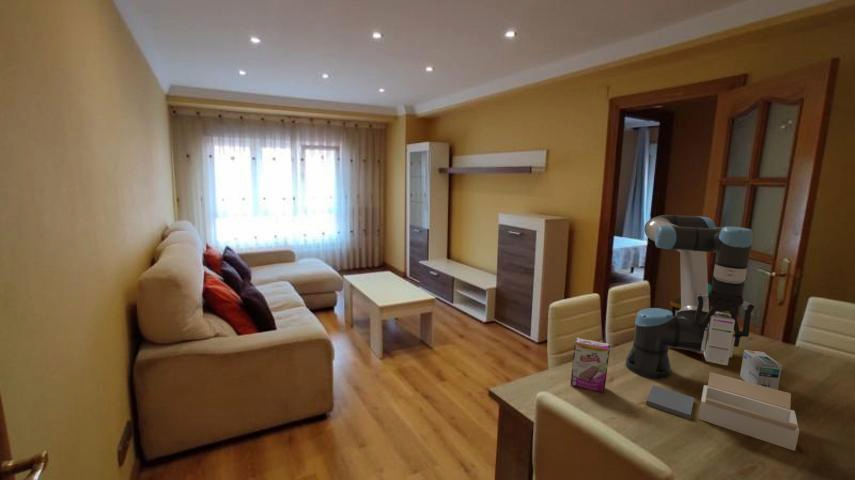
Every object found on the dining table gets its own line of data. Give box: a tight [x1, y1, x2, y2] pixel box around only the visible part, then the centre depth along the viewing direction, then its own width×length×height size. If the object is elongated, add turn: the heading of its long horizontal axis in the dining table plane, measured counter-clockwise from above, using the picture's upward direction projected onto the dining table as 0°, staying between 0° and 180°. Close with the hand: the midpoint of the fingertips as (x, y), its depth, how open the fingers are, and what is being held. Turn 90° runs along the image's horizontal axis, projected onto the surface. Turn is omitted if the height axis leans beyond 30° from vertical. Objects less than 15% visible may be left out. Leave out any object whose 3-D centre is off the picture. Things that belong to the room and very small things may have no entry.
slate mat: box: [645, 384, 695, 420], centre depth 129 cm, size 12×12×2 cm
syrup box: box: [704, 312, 735, 366], centre depth 120 cm, size 6×6×14 cm
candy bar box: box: [570, 337, 611, 394], centre depth 137 cm, size 11×5×16 cm, turn 65°
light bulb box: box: [739, 349, 783, 390], centre depth 141 cm, size 11×7×11 cm, turn 168°
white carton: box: [698, 371, 800, 452], centre depth 118 cm, size 22×20×9 cm
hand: (716, 352), depth 121 cm, fingers closed on syrup box, 6 cm apart
